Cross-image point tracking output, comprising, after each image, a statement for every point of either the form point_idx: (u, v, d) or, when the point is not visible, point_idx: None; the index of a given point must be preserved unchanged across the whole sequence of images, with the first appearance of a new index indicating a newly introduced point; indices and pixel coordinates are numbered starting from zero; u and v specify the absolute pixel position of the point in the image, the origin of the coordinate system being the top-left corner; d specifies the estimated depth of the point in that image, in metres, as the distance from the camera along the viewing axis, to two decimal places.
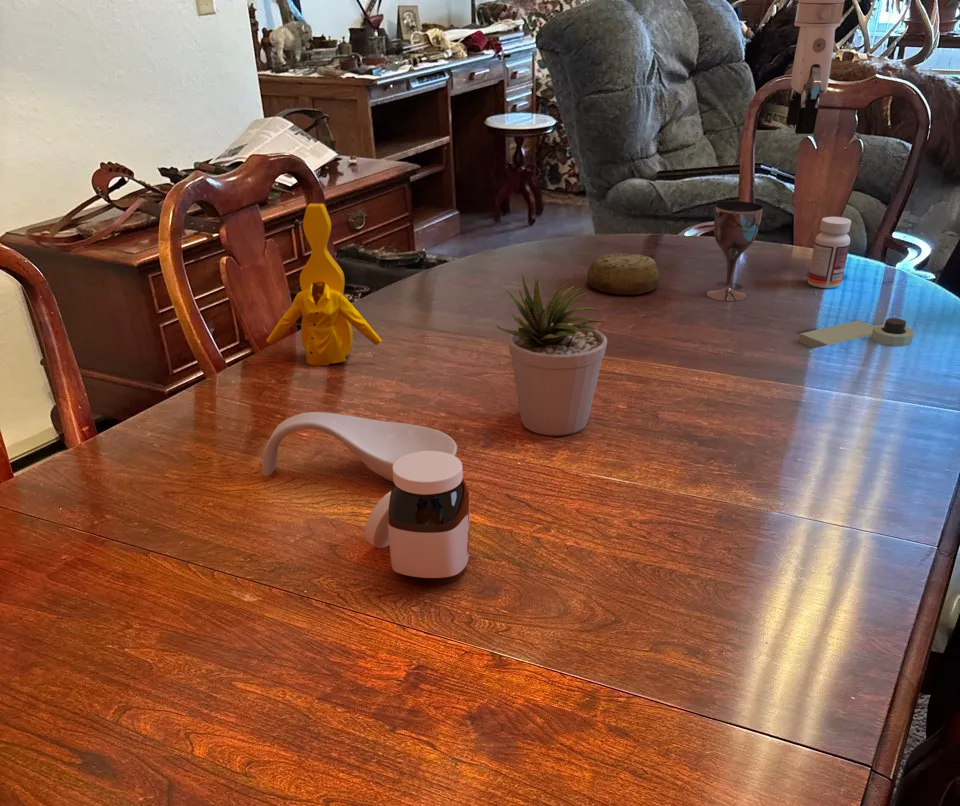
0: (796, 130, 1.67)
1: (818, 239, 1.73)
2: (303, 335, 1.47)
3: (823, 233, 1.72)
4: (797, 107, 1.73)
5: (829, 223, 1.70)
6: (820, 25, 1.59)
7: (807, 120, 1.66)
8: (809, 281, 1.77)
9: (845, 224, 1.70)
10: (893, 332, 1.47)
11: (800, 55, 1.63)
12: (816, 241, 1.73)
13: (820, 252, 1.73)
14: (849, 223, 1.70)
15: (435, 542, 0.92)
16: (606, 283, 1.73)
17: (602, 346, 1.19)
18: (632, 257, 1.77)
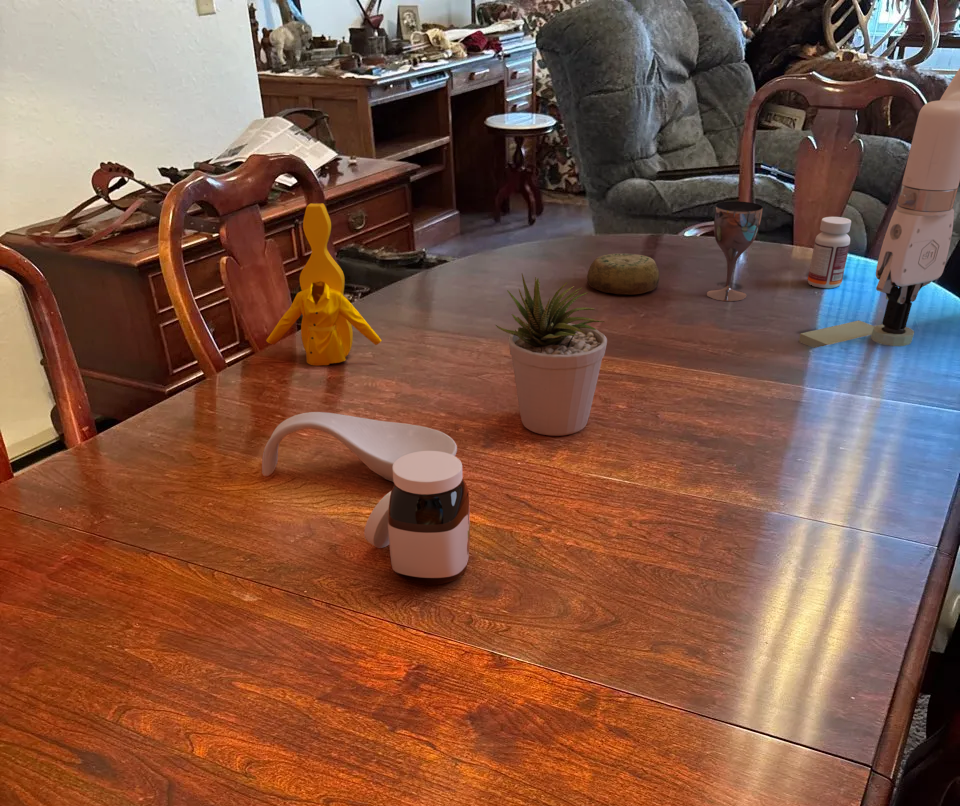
0: (883, 321, 1.49)
1: (818, 239, 1.73)
2: (303, 335, 1.47)
3: (823, 233, 1.72)
4: None
5: (829, 223, 1.70)
6: (905, 210, 1.37)
7: (890, 314, 1.46)
8: (809, 281, 1.77)
9: (845, 224, 1.70)
10: None
11: None
12: (816, 241, 1.73)
13: (820, 252, 1.73)
14: (849, 223, 1.70)
15: (435, 542, 0.92)
16: (606, 283, 1.73)
17: (602, 346, 1.19)
18: (632, 257, 1.77)
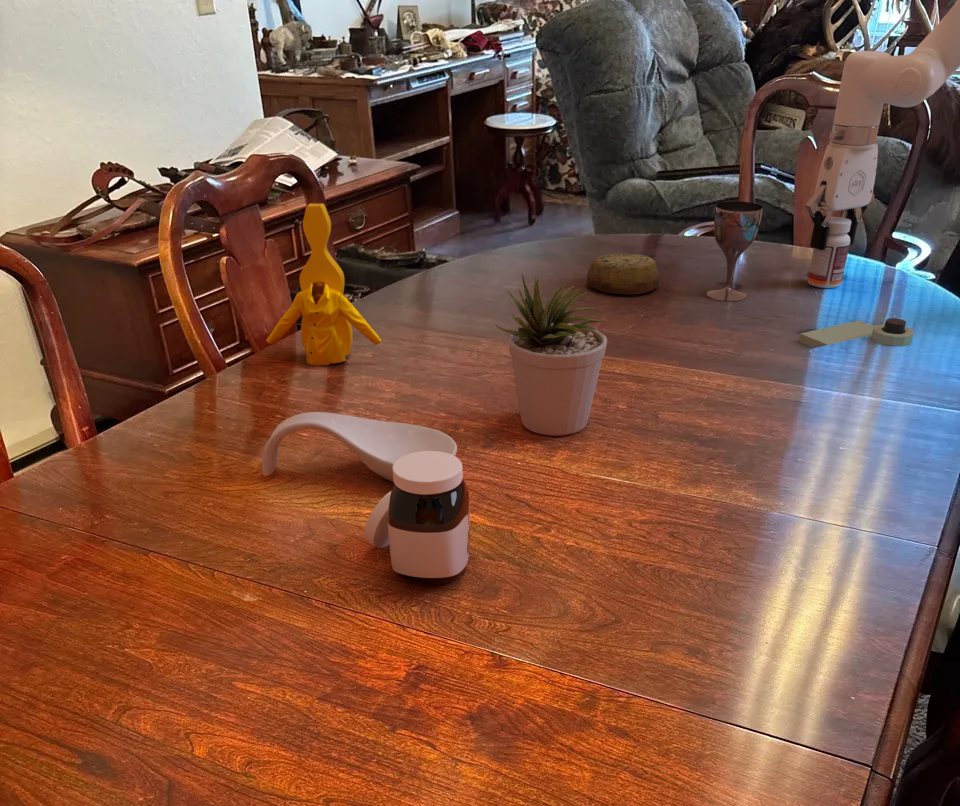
0: (811, 243, 1.73)
1: None
2: (303, 335, 1.47)
3: None
4: None
5: (829, 223, 1.70)
6: (835, 145, 1.63)
7: (816, 236, 1.71)
8: (809, 281, 1.77)
9: (845, 224, 1.70)
10: (893, 332, 1.47)
11: None
12: None
13: (820, 252, 1.73)
14: (849, 223, 1.70)
15: (435, 542, 0.92)
16: (606, 283, 1.73)
17: (602, 346, 1.19)
18: (632, 257, 1.77)
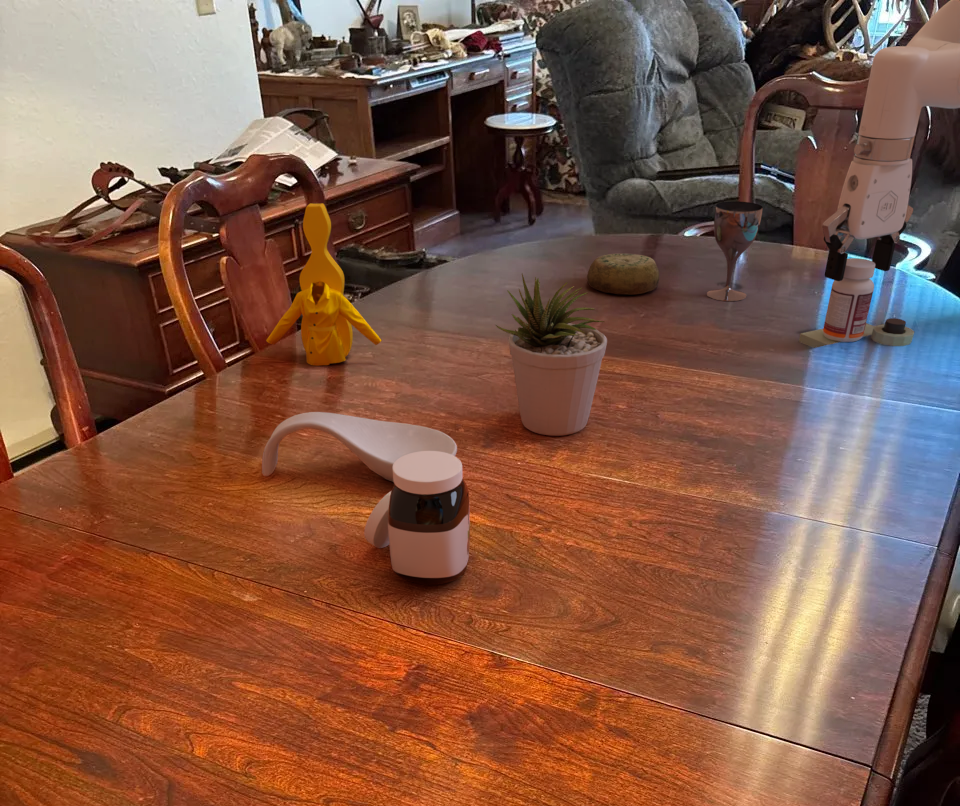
0: (825, 273, 1.44)
1: (836, 285, 1.45)
2: (303, 335, 1.47)
3: None
4: (881, 249, 1.45)
5: (849, 267, 1.43)
6: (861, 161, 1.34)
7: (831, 265, 1.42)
8: (825, 333, 1.50)
9: (868, 268, 1.42)
10: (893, 332, 1.47)
11: None
12: (833, 287, 1.46)
13: (838, 301, 1.46)
14: (873, 267, 1.43)
15: (435, 542, 0.92)
16: (606, 283, 1.73)
17: (602, 346, 1.19)
18: (632, 257, 1.77)
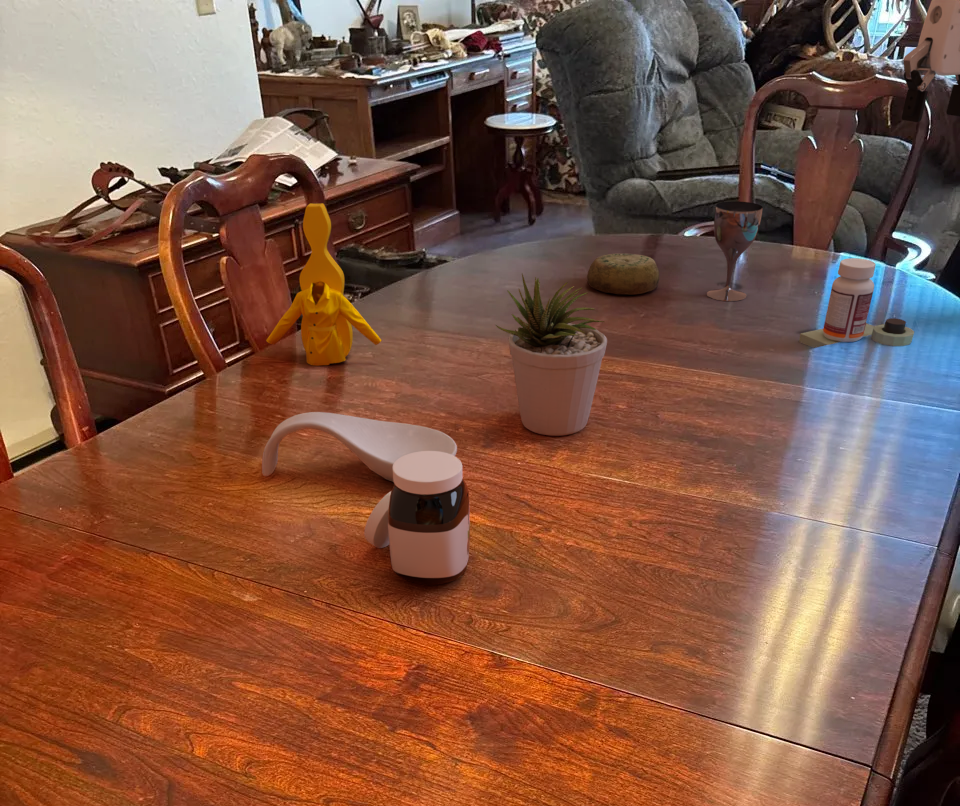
0: (903, 115, 1.42)
1: (836, 286, 1.45)
2: (303, 335, 1.47)
3: (842, 278, 1.45)
4: (958, 94, 1.44)
5: (849, 267, 1.43)
6: None
7: (910, 105, 1.40)
8: (825, 333, 1.50)
9: (868, 268, 1.42)
10: (893, 332, 1.47)
11: None
12: (833, 287, 1.46)
13: (838, 301, 1.46)
14: (873, 267, 1.43)
15: (435, 542, 0.92)
16: (606, 283, 1.73)
17: (602, 346, 1.19)
18: (632, 257, 1.77)
